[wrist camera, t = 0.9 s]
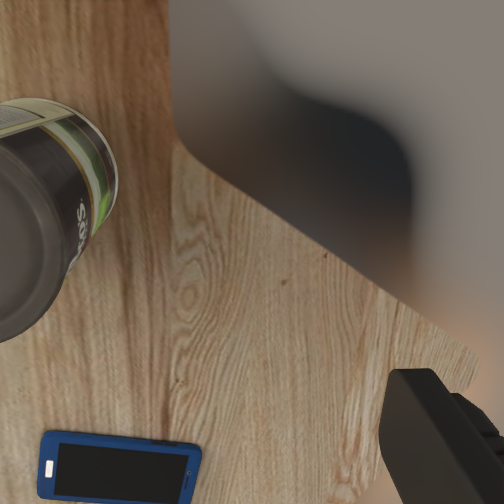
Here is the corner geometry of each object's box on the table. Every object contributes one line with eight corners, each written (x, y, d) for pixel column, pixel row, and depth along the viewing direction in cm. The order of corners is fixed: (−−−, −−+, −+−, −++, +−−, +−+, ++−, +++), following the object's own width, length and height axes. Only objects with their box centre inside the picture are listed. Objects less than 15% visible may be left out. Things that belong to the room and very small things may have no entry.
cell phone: (43, 428, 40) (40, 435, 39) (203, 444, 42) (203, 451, 41) (37, 492, 42) (35, 499, 41) (189, 503, 44) (189, 510, 44)
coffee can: (147, 153, 32) (110, 211, 19) (75, 267, 35) (0, 386, 22) (4, 61, 29) (-155, 55, 16) (-62, 193, 32) (-246, 279, 19)
